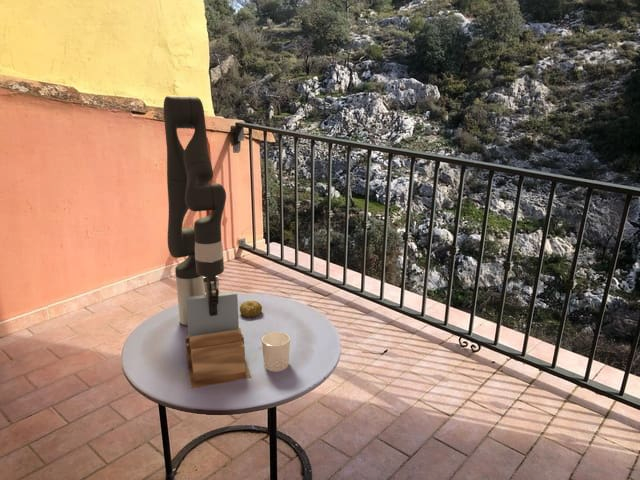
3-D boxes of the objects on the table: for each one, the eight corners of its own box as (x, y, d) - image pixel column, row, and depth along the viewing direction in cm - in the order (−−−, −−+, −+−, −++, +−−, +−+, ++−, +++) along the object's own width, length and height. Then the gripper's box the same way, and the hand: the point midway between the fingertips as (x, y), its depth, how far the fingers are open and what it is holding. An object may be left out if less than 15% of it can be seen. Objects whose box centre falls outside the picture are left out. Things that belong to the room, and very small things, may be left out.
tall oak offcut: (192, 368, 135) (189, 336, 132) (241, 359, 140) (240, 329, 137) (193, 373, 133) (190, 341, 130) (243, 365, 137) (241, 334, 134)
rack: (187, 361, 141) (185, 336, 139) (241, 352, 146) (240, 328, 144) (191, 393, 127) (189, 365, 124) (251, 382, 132) (250, 355, 129)
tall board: (190, 360, 139) (185, 297, 133) (238, 352, 144) (236, 291, 138) (191, 363, 137) (186, 300, 131) (240, 355, 142) (237, 293, 136)
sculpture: (266, 302, 171) (251, 310, 165) (266, 312, 173) (251, 321, 166) (250, 297, 176) (234, 304, 170) (250, 307, 177) (235, 314, 171)
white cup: (279, 380, 133) (278, 348, 130) (257, 371, 137) (256, 340, 134) (295, 367, 139) (295, 336, 136) (273, 359, 143) (273, 329, 140)
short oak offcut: (193, 374, 132) (191, 349, 130) (243, 366, 137) (242, 341, 134) (194, 380, 129) (192, 354, 127) (245, 371, 134) (244, 346, 131)
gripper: (193, 249, 136) (197, 305, 141) (197, 266, 123) (201, 326, 129) (219, 247, 138) (222, 301, 144) (226, 263, 126) (229, 322, 131)
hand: (212, 313), depth 136 cm, fingers closed on tall board, 2 cm apart
